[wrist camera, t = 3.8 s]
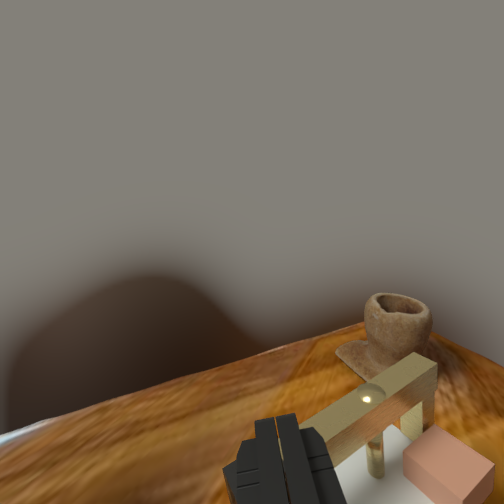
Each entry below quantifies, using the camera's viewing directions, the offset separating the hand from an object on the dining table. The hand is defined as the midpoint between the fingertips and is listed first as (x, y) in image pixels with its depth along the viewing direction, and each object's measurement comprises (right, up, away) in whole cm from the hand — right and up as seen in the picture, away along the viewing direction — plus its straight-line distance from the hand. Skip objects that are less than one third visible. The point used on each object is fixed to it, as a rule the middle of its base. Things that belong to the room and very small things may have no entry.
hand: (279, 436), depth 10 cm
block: (+17, -15, +15) cm, 27 cm away
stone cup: (+24, -16, +41) cm, 50 cm away
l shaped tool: (+9, -16, +16) cm, 24 cm away
